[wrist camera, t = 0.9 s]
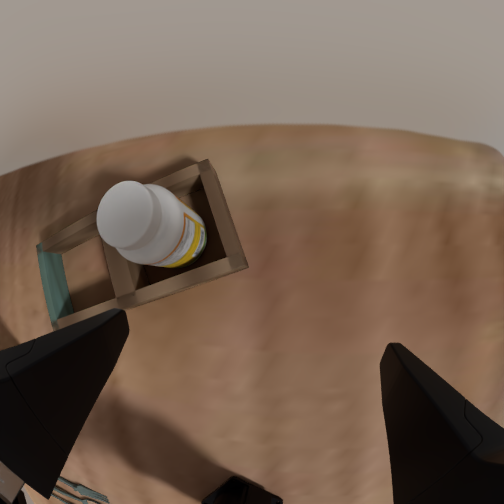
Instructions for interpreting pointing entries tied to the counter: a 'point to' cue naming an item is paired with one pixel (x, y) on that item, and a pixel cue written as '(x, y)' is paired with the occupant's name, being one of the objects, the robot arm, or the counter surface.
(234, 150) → the counter surface
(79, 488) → the cutlery set
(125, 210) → the supplement bottle
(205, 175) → the slot rack
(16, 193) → the counter surface
